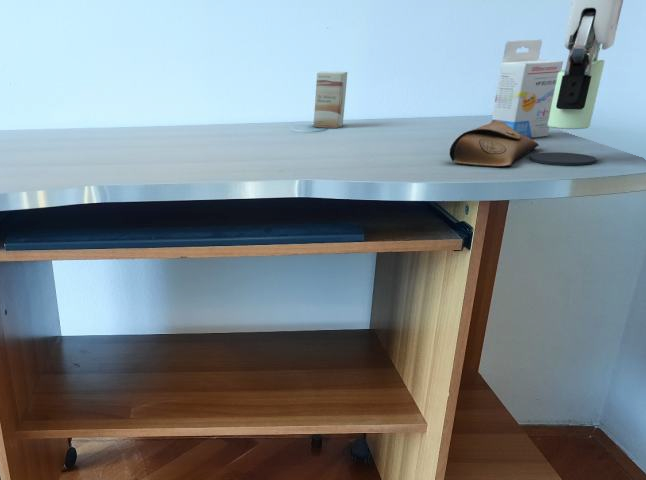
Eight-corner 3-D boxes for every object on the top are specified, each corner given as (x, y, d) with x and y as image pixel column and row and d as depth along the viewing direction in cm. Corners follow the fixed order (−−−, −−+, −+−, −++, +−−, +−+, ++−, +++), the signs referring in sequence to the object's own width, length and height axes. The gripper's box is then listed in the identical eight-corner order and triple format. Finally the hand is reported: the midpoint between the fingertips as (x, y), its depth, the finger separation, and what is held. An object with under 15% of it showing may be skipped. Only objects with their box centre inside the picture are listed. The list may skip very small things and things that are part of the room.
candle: (550, 129, 85) (564, 61, 81) (544, 124, 89) (557, 60, 86) (593, 129, 84) (609, 60, 80) (584, 124, 88) (599, 59, 84)
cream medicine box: (312, 127, 127) (315, 72, 122) (318, 124, 130) (321, 71, 126) (338, 128, 125) (342, 72, 120) (344, 125, 128) (347, 70, 124)
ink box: (512, 141, 104) (530, 40, 98) (487, 137, 108) (503, 41, 102) (549, 136, 107) (569, 38, 101) (524, 132, 111) (541, 39, 105)
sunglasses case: (514, 164, 84) (494, 117, 83) (462, 187, 89) (443, 143, 88) (541, 144, 97) (523, 103, 96) (494, 165, 102) (477, 127, 101)
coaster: (598, 157, 89) (599, 154, 89) (592, 167, 83) (593, 164, 83) (535, 153, 93) (535, 150, 93) (525, 163, 87) (525, 160, 87)
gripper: (641, -63, 69) (598, 115, 77) (648, -51, 82) (610, 101, 90) (563, -56, 73) (530, 112, 81) (580, -46, 85) (550, 99, 93)
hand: (572, 105), depth 85 cm, fingers closed on candle, 4 cm apart
